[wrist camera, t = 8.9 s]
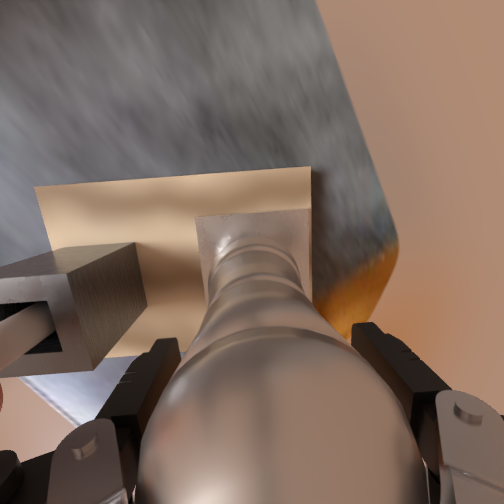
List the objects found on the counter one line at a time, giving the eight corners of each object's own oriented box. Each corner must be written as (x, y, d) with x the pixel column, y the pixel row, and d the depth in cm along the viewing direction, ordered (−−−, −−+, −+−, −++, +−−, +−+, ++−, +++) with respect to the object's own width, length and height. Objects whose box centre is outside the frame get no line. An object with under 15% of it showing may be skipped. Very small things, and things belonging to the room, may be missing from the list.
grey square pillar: (63, 247, 20) (-50, 282, 12) (134, 241, 20) (66, 273, 12) (81, 311, 22) (-10, 378, 14) (147, 306, 22) (93, 370, 14)
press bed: (197, 216, 20) (194, 217, 19) (305, 207, 20) (308, 208, 19) (210, 318, 22) (208, 324, 21) (307, 311, 22) (309, 316, 21)
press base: (53, 187, 21) (34, 187, 19) (304, 168, 21) (310, 166, 19) (96, 346, 25) (84, 359, 23) (307, 329, 25) (312, 341, 23)
